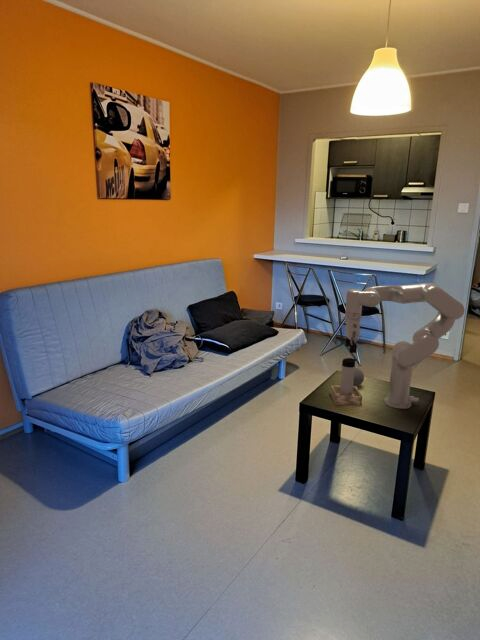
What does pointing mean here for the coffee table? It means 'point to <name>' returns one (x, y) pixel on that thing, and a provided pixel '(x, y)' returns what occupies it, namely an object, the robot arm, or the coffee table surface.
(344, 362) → the travel mug
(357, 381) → the decorative ball
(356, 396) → the open box
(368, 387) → the coffee table surface
